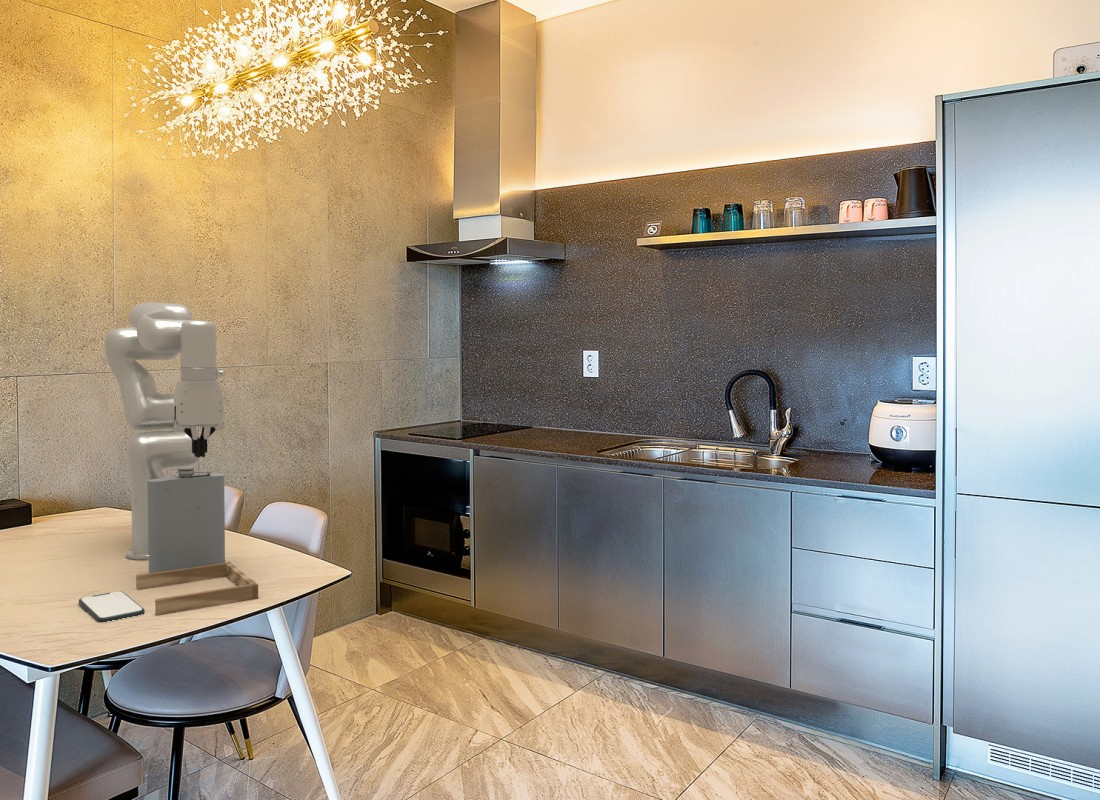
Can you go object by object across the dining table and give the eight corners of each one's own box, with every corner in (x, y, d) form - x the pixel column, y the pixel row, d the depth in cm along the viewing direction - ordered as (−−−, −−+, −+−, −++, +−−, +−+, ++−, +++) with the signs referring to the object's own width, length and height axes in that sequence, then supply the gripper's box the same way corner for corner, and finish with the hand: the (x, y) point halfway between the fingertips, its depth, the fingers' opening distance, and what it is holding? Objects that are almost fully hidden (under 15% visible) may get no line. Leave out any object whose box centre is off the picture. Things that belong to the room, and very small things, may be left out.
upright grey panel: (220, 561, 207) (219, 462, 205) (227, 565, 203) (226, 464, 201) (146, 573, 195) (144, 468, 194) (151, 577, 192) (149, 471, 190)
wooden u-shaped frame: (136, 588, 183) (136, 575, 183) (230, 574, 195) (230, 562, 195) (156, 615, 166) (156, 600, 166) (258, 598, 178) (258, 584, 178)
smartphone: (147, 617, 167) (122, 597, 178) (146, 609, 167) (122, 589, 178) (98, 627, 161) (76, 605, 172) (98, 619, 161) (76, 598, 172)
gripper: (228, 374, 193) (229, 452, 194) (159, 375, 184) (160, 456, 185) (237, 376, 187) (238, 456, 188) (166, 376, 178) (167, 461, 179)
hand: (199, 456), depth 187 cm, fingers closed
